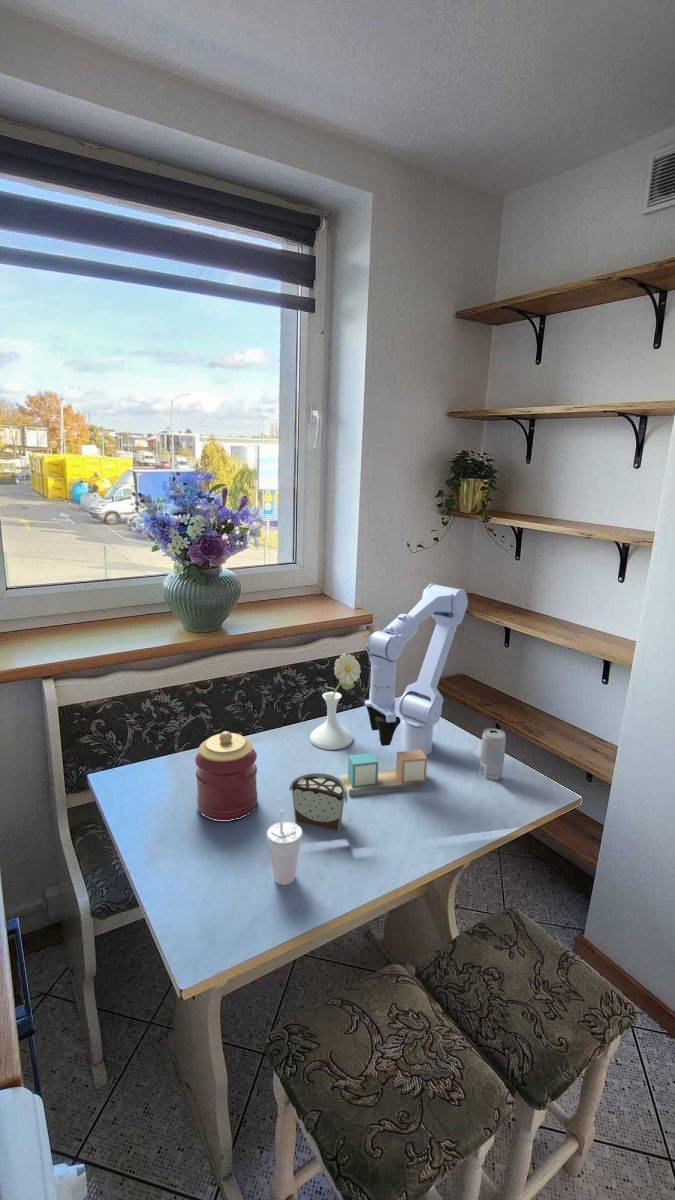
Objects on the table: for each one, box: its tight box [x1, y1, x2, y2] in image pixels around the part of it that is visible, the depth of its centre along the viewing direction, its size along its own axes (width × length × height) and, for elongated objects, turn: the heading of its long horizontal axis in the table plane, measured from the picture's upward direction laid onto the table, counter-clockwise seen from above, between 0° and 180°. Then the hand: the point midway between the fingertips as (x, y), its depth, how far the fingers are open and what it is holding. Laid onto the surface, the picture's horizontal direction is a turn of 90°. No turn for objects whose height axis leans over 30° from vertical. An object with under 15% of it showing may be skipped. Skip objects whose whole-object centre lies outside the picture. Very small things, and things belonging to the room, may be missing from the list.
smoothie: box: [266, 809, 303, 886], centre depth 109 cm, size 6×6×14 cm
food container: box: [289, 772, 349, 832], centre depth 126 cm, size 12×6×10 cm, turn 71°
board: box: [340, 768, 423, 797], centre depth 141 cm, size 9×17×3 cm, turn 103°
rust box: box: [395, 750, 428, 784], centre depth 141 cm, size 4×6×6 cm
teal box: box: [347, 752, 379, 788], centre depth 139 cm, size 4×6×6 cm
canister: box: [194, 730, 258, 820], centre depth 130 cm, size 13×13×18 cm
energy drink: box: [478, 727, 507, 783], centre depth 143 cm, size 5×5×12 cm
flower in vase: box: [309, 653, 362, 751], centre depth 157 cm, size 13×11×25 cm
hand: (380, 737), depth 142 cm, fingers open, 7 cm apart
